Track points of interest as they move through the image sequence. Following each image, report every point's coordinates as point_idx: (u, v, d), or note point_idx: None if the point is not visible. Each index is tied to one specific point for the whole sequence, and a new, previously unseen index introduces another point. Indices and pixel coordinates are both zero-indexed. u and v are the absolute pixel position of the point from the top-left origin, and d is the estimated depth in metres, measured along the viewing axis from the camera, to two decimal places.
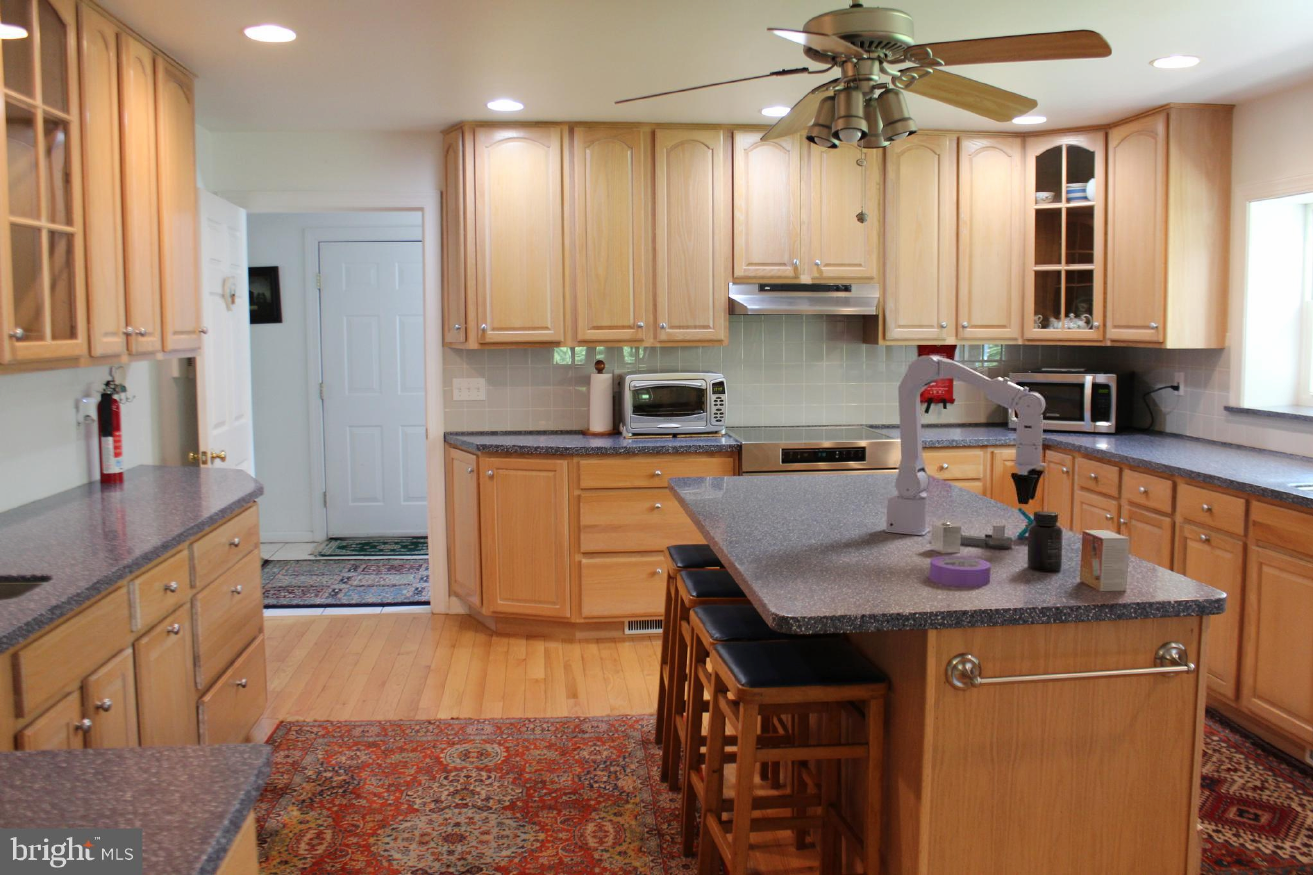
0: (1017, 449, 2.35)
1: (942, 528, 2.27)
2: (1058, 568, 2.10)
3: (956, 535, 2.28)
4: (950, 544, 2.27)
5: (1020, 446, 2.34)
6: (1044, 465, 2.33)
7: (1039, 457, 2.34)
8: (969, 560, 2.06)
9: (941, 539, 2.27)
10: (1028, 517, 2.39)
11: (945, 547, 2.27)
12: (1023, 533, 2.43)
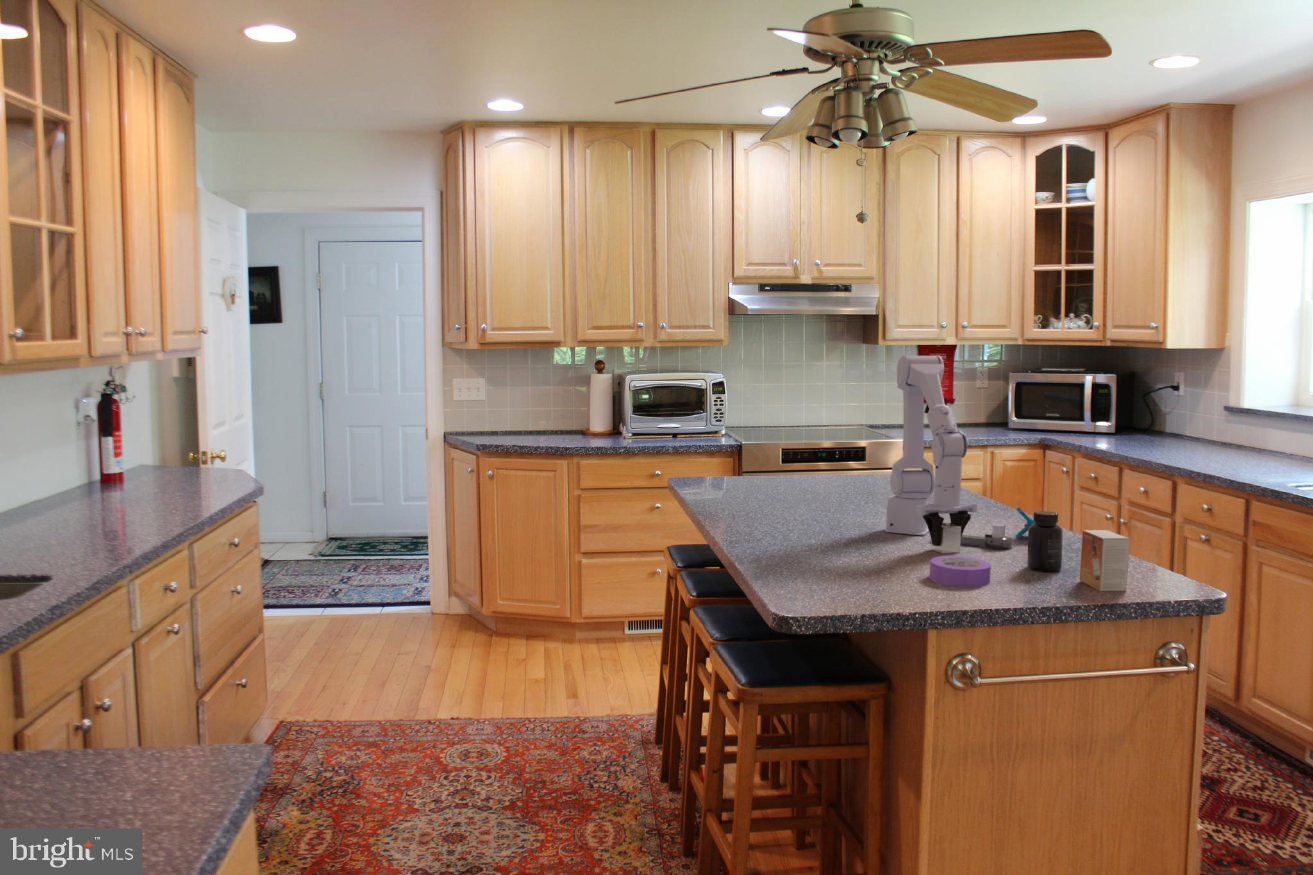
0: None
1: (942, 528, 2.27)
2: (1058, 568, 2.10)
3: (956, 535, 2.28)
4: (950, 544, 2.27)
5: (934, 486, 2.29)
6: (953, 508, 2.25)
7: (949, 500, 2.26)
8: (969, 560, 2.06)
9: (941, 539, 2.27)
10: (1026, 517, 2.39)
11: (945, 547, 2.27)
12: (1021, 533, 2.43)
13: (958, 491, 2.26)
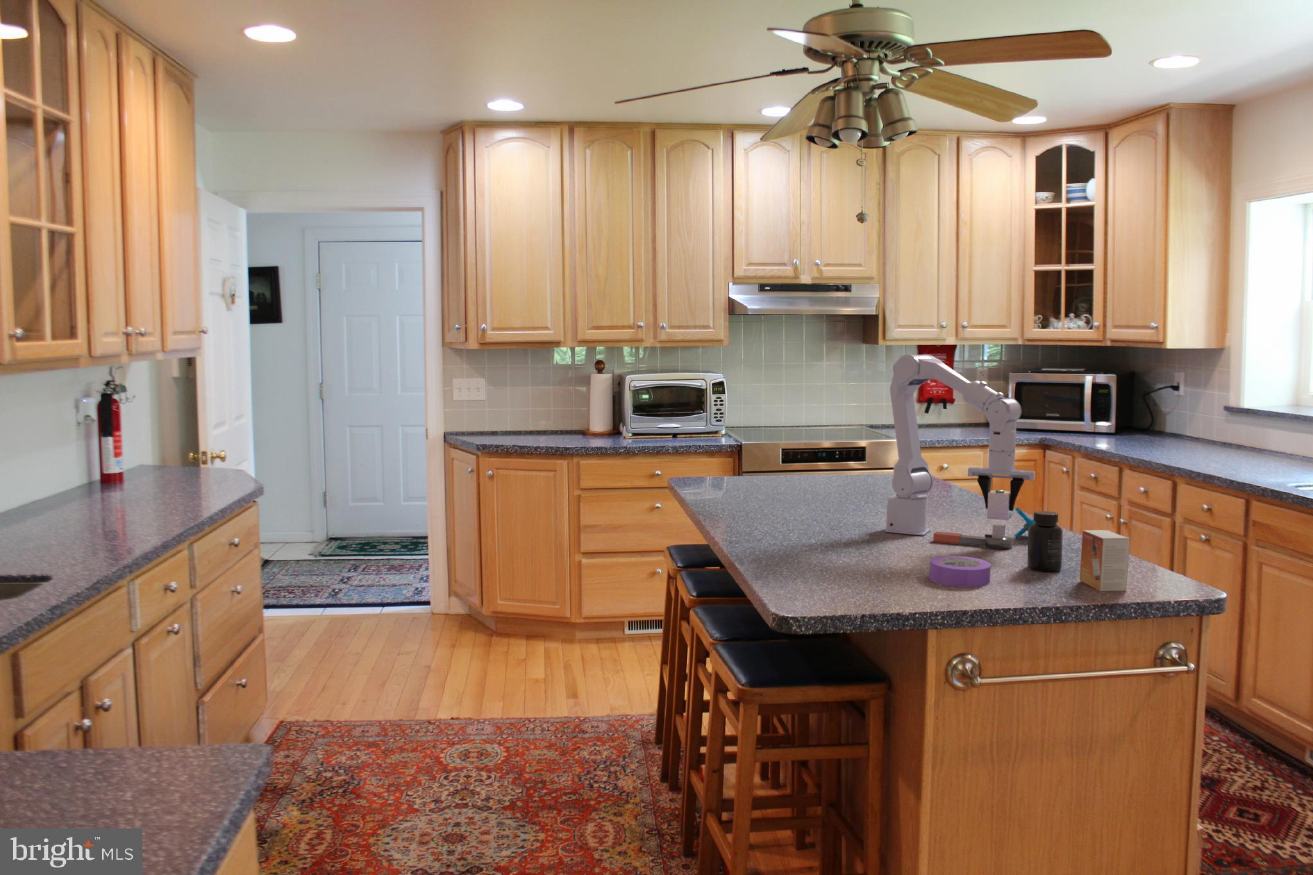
0: None
1: (988, 494, 2.32)
2: (1058, 568, 2.10)
3: (1003, 503, 2.30)
4: (996, 511, 2.31)
5: None
6: (994, 472, 2.29)
7: (994, 464, 2.30)
8: (969, 560, 2.06)
9: None
10: (1024, 517, 2.40)
11: (990, 512, 2.32)
12: (1020, 533, 2.43)
13: (1005, 456, 2.29)
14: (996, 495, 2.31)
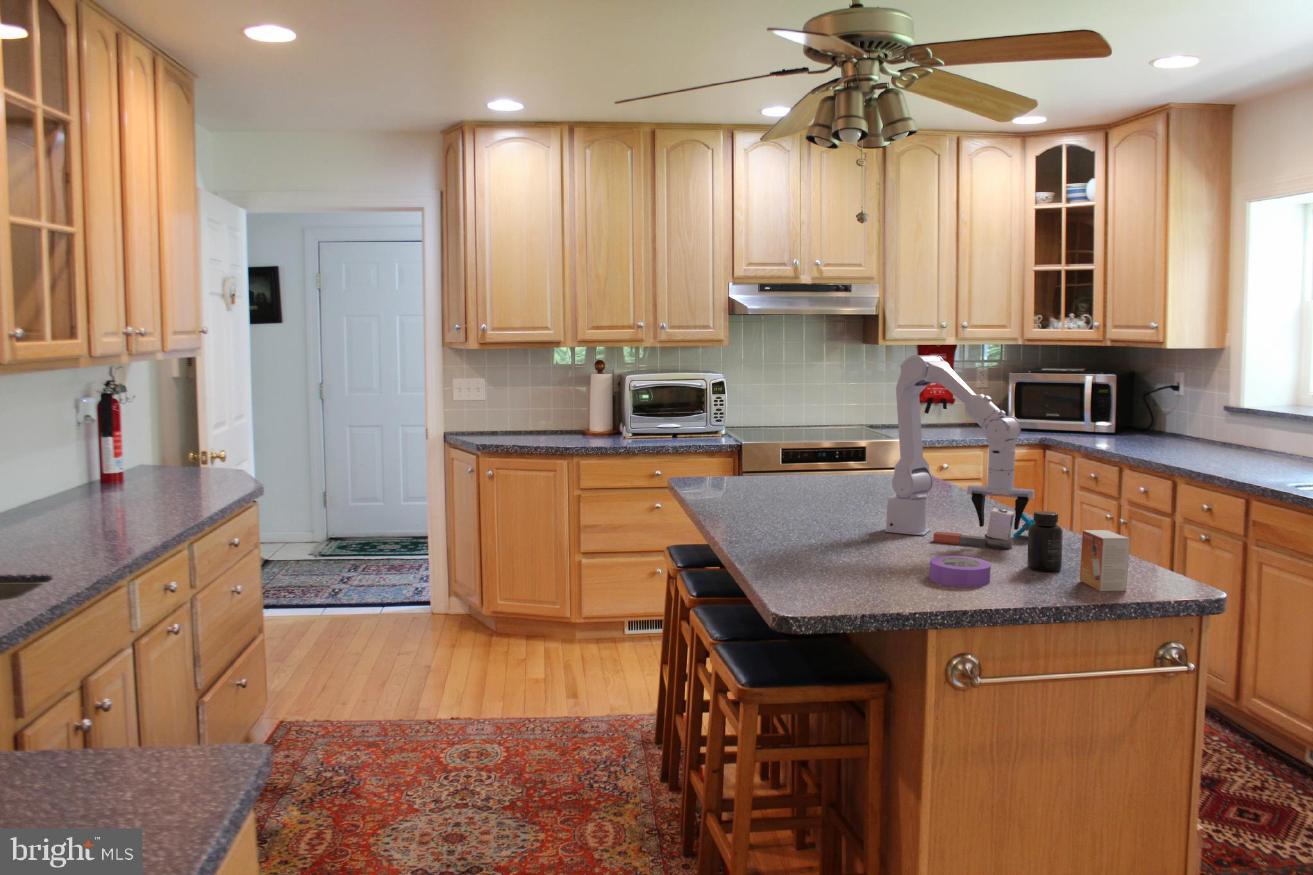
0: None
1: (991, 512, 2.32)
2: (1058, 568, 2.10)
3: (1005, 522, 2.31)
4: (996, 529, 2.32)
5: None
6: (993, 491, 2.30)
7: (994, 482, 2.31)
8: (969, 560, 2.06)
9: (989, 522, 2.33)
10: (1022, 516, 2.40)
11: (990, 530, 2.32)
12: (1019, 532, 2.44)
13: (1004, 475, 2.30)
14: (998, 514, 2.31)
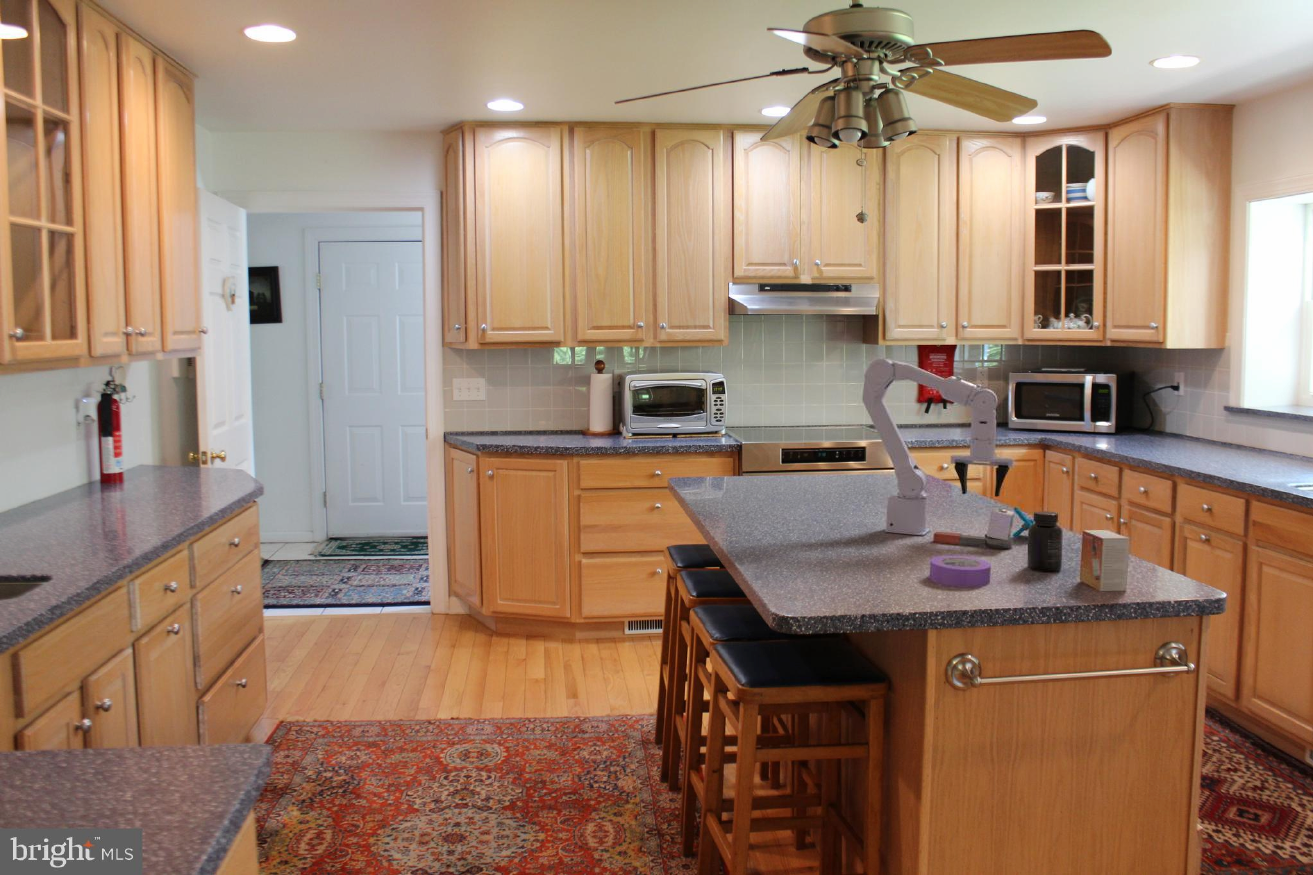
0: None
1: (991, 512, 2.32)
2: (1058, 568, 2.10)
3: (1005, 522, 2.31)
4: (996, 529, 2.32)
5: None
6: (975, 459, 2.41)
7: (975, 451, 2.41)
8: (969, 560, 2.06)
9: (989, 522, 2.33)
10: (1021, 516, 2.40)
11: (990, 530, 2.32)
12: (1018, 532, 2.44)
13: (985, 444, 2.40)
14: (998, 514, 2.31)
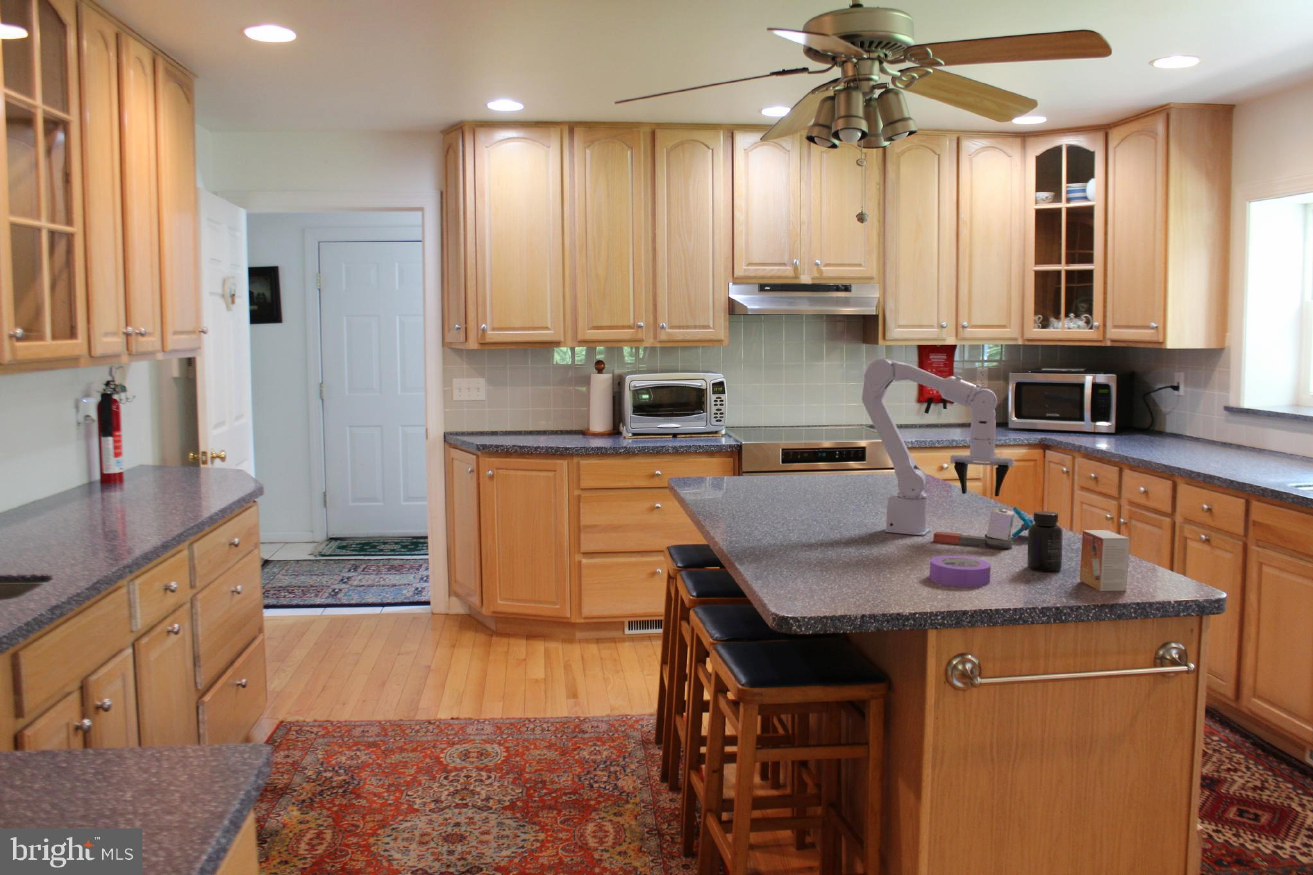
0: None
1: (991, 512, 2.32)
2: (1058, 568, 2.10)
3: (1005, 522, 2.31)
4: (996, 529, 2.32)
5: None
6: (975, 459, 2.41)
7: (975, 451, 2.42)
8: (969, 560, 2.06)
9: (989, 522, 2.33)
10: (1020, 516, 2.40)
11: (990, 530, 2.32)
12: (1017, 532, 2.44)
13: (985, 444, 2.41)
14: (998, 514, 2.31)
